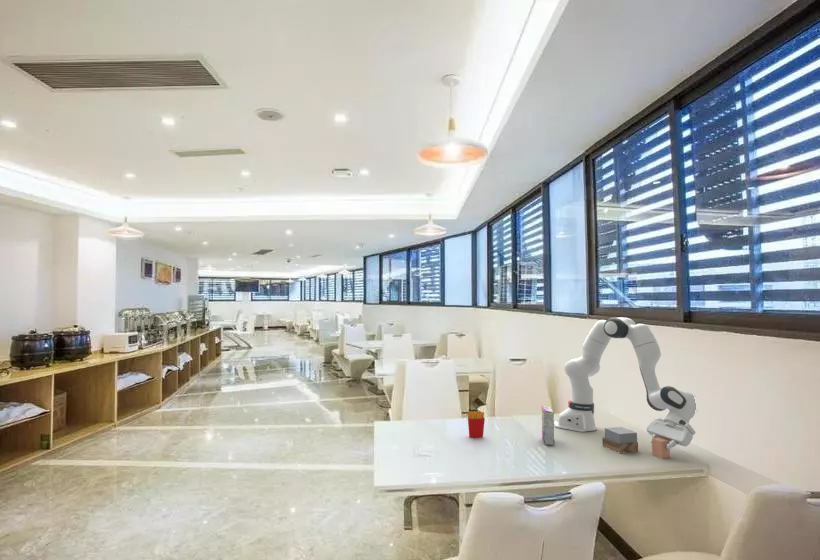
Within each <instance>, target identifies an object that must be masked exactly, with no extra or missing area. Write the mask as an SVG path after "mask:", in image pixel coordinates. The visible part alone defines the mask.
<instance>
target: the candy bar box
mask: <svg viewBox="0 0 820 560" xmlns="http://www.w3.org/2000/svg"><path fill="white" fill-rule="evenodd" d="M554 417H555V416H554V410H553V407H552V406H547V405H546V406H545V405H542V406H541V427H542V428H541V430H542V431H541V434H542V435H541V437H542V441H543V444H544V445H545V446H554V445H555V429H554V428H555V426H554V422H555V421H554V419H555V418H554Z"/></svg>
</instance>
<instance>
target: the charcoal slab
mask: <svg viewBox="0 0 820 560" xmlns="http://www.w3.org/2000/svg"><path fill="white" fill-rule="evenodd" d="M604 437H605V438H607V439H610V440H612V441H614V442H616V443H619V444H623V443H635V442H638V432H637V431H634V430H632V429H628V428H626V427H623V426H615V427H605V428H604Z"/></svg>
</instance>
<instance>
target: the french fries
mask: <svg viewBox="0 0 820 560" xmlns="http://www.w3.org/2000/svg"><path fill="white" fill-rule="evenodd" d="M466 414H467V424H468V425H467V427H468V434H469V438H471V439H480V438H483V437H484V429H485V411H481V410H479V411H476V410H475V411H470V412H468V411H467V412H466Z"/></svg>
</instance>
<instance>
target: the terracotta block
mask: <svg viewBox="0 0 820 560" xmlns="http://www.w3.org/2000/svg"><path fill="white" fill-rule="evenodd" d="M651 440H652V443H651V451H652V453H651V454H653V455H652V456H654V457H658V458H659V459H666V458H671V449H670V450H668V449H666V448H665V446H666V444H670V443H671V442H670V441H669V440H667V439H664V438H661V437H659V438H652V437H651Z"/></svg>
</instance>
